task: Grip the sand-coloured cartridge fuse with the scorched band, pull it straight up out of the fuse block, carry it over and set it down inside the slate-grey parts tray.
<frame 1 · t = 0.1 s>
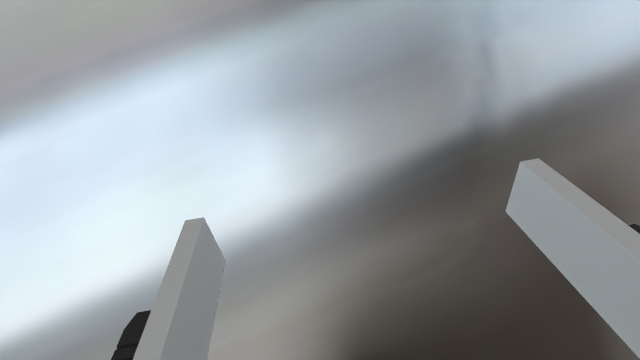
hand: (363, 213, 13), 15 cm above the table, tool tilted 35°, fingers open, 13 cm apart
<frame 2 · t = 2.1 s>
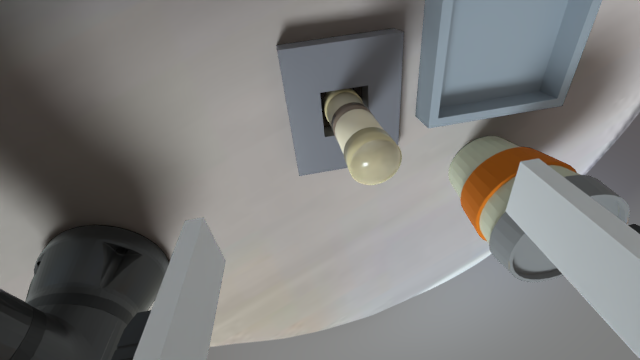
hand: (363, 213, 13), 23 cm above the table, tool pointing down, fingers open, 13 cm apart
blown fuse: (354, 127, 29), in the fuse block
reusable coffee cup: (478, 164, 42), on the table
fuse block: (340, 104, 34), on the table
parts tray: (491, 44, 33), on the table
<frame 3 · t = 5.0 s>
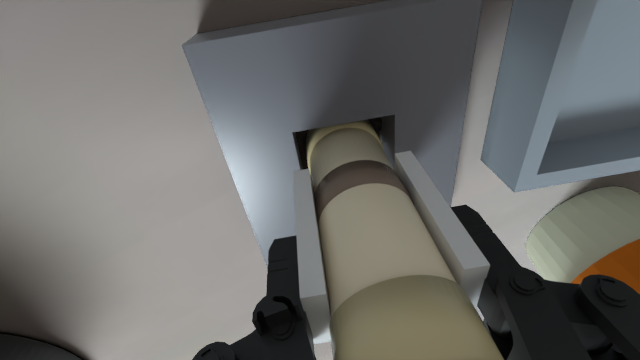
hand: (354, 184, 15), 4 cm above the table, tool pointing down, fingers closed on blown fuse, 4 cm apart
blown fuse: (365, 217, 13), in the fuse block, touching gripper
reusable coffee cup: (578, 227, 25), on the table
fuse block: (340, 143, 18), on the table
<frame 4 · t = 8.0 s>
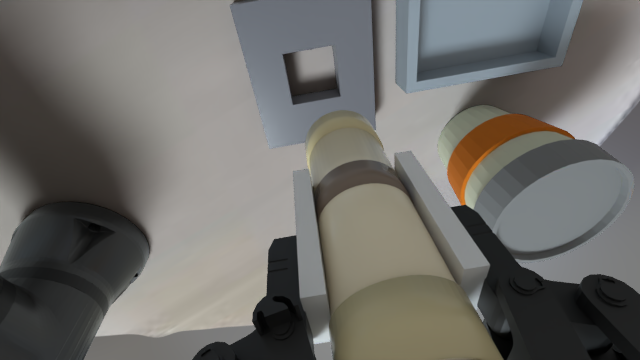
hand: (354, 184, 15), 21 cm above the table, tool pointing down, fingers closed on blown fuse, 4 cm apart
blown fuse: (364, 217, 13), point 23 cm above the table, touching gripper
reusable coffee cup: (471, 137, 39), on the table
fuse block: (310, 69, 31), on the table
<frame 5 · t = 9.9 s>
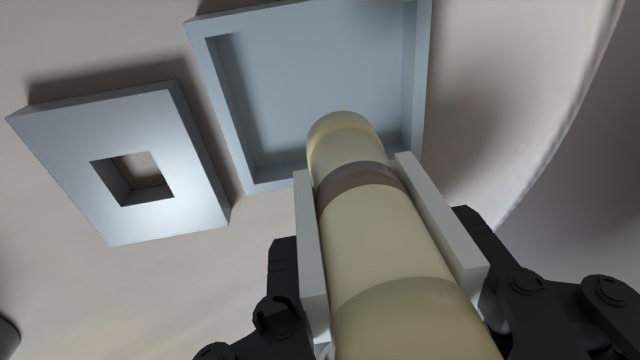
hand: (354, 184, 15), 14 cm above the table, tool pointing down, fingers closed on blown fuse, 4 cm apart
blown fuse: (365, 218, 13), point 16 cm above the table, touching gripper
reusable coffee cup: (354, 219, 35), on the table
fuse block: (144, 165, 28), on the table
parts tray: (318, 90, 26), on the table
when the fingers open (7 cm above the table, at t = 11.2 s): blown fuse drops 2 cm, resting on parts tray.
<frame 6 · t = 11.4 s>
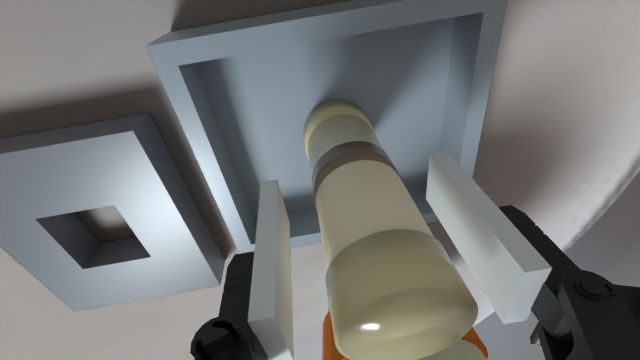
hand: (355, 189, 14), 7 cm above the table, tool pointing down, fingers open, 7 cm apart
blown fuse: (358, 193, 14), in the parts tray, point 7 cm above the table
reusable coffee cup: (372, 268, 29), on the table
fuse block: (114, 214, 22), on the table
parts tray: (334, 125, 20), on the table
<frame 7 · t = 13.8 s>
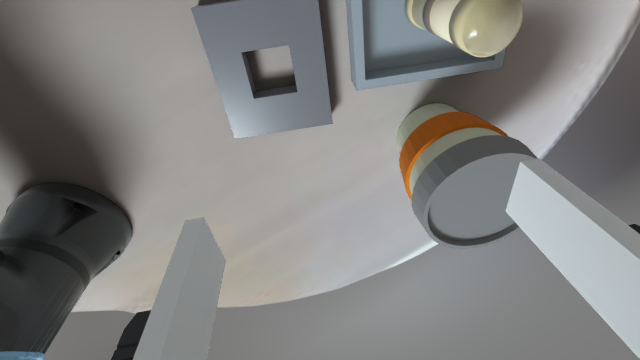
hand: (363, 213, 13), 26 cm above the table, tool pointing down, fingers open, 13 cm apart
blown fuse: (451, 12, 26), in the parts tray, point 7 cm above the table
reusable coffee cup: (428, 133, 41), on the table
fuse block: (271, 66, 34), on the table
parts tray: (422, 2, 32), on the table
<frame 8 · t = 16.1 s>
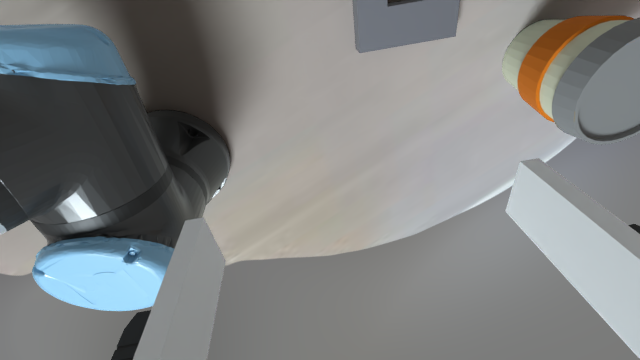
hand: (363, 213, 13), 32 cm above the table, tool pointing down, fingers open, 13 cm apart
reusable coffee cup: (533, 54, 42), on the table
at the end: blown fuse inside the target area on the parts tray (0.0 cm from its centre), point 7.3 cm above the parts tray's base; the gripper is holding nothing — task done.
